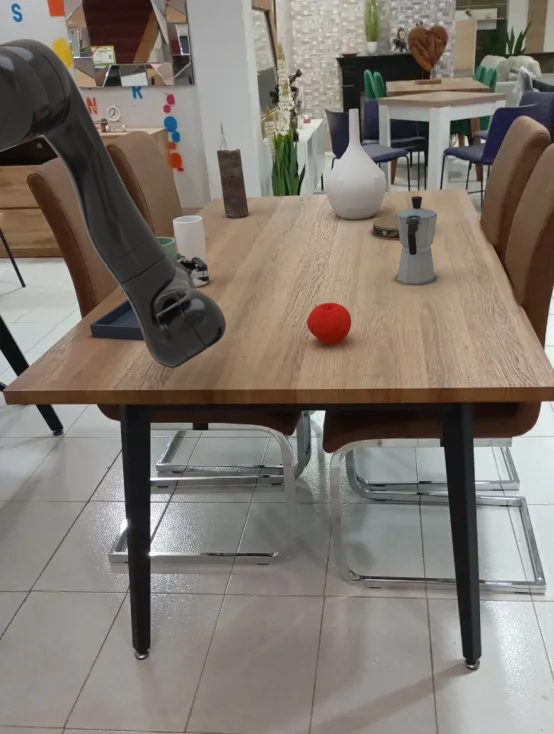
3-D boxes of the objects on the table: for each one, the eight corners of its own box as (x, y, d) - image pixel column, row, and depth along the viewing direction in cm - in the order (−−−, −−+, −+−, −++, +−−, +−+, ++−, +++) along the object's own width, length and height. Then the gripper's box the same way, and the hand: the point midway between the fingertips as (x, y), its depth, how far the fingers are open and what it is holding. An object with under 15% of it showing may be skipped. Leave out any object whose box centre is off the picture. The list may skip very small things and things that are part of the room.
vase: (381, 207, 219) (380, 104, 205) (391, 220, 204) (390, 110, 189) (324, 211, 219) (319, 108, 204) (329, 225, 203) (324, 114, 188)
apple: (302, 348, 125) (299, 310, 122) (317, 332, 132) (315, 295, 128) (344, 352, 123) (342, 313, 119) (357, 335, 129) (356, 298, 126)
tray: (152, 340, 133) (150, 328, 132) (92, 336, 136) (89, 324, 135) (188, 310, 146) (186, 299, 145) (132, 307, 150) (130, 296, 148)
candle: (220, 216, 220) (211, 150, 210) (236, 211, 225) (229, 146, 215) (236, 219, 216) (229, 151, 206) (253, 214, 221) (246, 147, 211)
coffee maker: (400, 269, 163) (401, 190, 154) (438, 270, 160) (440, 190, 152) (390, 290, 150) (389, 205, 141) (430, 291, 148) (432, 205, 139)
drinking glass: (180, 289, 159) (170, 223, 151) (184, 280, 165) (174, 216, 157) (210, 287, 159) (200, 221, 151) (212, 278, 165) (204, 214, 157)
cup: (174, 307, 114) (164, 247, 109) (141, 305, 115) (130, 246, 110) (189, 295, 119) (181, 237, 114) (158, 294, 120) (148, 236, 115)
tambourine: (441, 234, 188) (441, 223, 186) (388, 242, 183) (388, 231, 182) (413, 222, 201) (413, 211, 199) (363, 230, 196) (363, 219, 195)
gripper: (214, 260, 102) (197, 234, 116) (115, 273, 99) (110, 245, 113) (221, 308, 106) (203, 277, 120) (125, 323, 102) (119, 289, 116)
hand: (158, 262), depth 116 cm, fingers closed on cup, 6 cm apart
